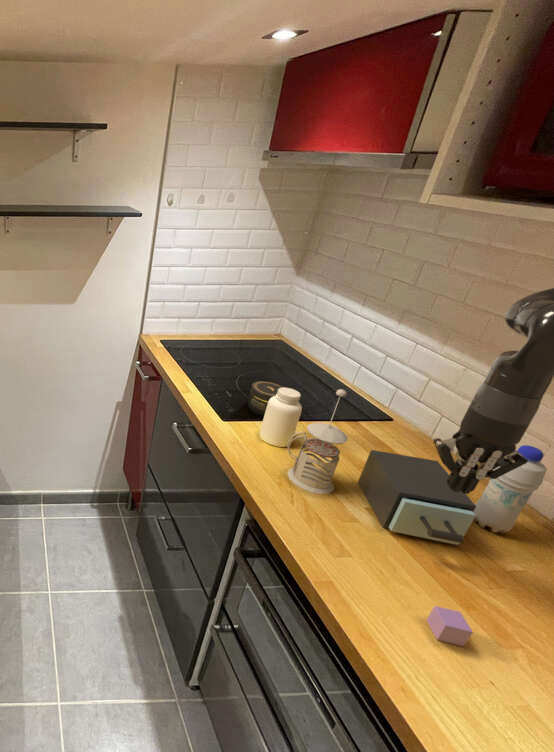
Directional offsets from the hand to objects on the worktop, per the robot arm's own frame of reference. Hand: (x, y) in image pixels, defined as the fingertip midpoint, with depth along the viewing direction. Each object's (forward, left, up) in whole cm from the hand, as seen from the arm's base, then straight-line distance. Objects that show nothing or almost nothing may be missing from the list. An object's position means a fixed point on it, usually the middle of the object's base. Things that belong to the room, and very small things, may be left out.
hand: (458, 489), depth 84 cm
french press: (+18, -16, -15) cm, 28 cm away
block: (+6, +20, -15) cm, 26 cm away
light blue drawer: (0, -6, -14) cm, 15 cm away
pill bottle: (+22, -32, -15) cm, 42 cm away
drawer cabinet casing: (0, -11, -15) cm, 18 cm away
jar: (+22, -48, -15) cm, 55 cm away
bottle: (-16, -12, -15) cm, 25 cm away
